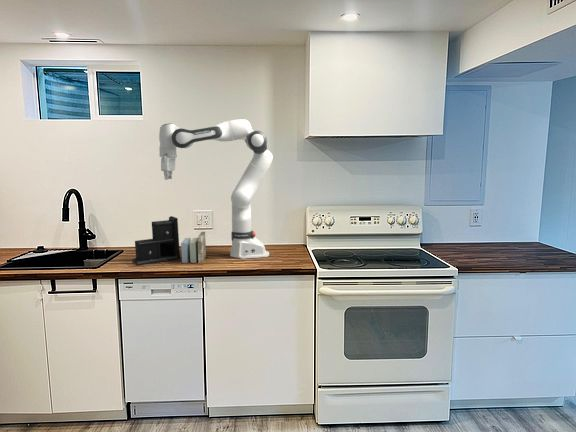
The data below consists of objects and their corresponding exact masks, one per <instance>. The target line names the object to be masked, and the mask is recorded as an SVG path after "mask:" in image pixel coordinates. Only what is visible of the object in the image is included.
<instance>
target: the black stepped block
mask: <svg viewBox="0 0 576 432" xmlns="http://www.w3.org/2000/svg"><path fill="white" fill-rule="evenodd" d="M151 233H152V238H147V239H140V240H135V241H134V248H135V250H134V251H135V257H133V259H132V263H133V264H134V265H136V266H137V267H138V266H144V265H150V264H151V265H152V264H158V263H163V262H171V261H177V260H181V253H180V237H179V221H178V217H176V216H172V215H171V216H169V217H168V219H166V220H157V221H151Z"/></svg>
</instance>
